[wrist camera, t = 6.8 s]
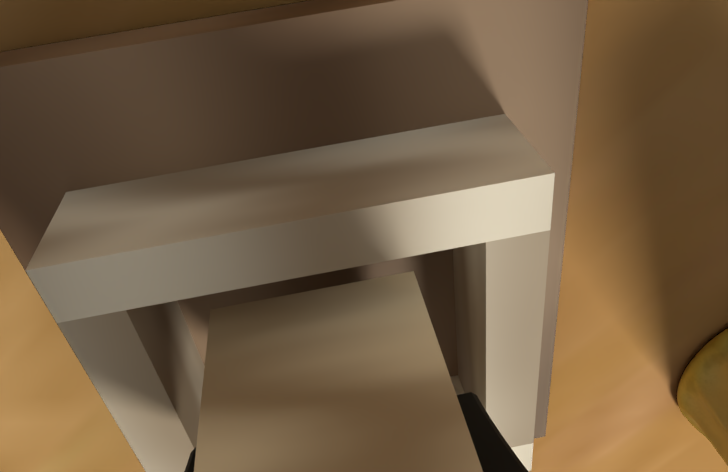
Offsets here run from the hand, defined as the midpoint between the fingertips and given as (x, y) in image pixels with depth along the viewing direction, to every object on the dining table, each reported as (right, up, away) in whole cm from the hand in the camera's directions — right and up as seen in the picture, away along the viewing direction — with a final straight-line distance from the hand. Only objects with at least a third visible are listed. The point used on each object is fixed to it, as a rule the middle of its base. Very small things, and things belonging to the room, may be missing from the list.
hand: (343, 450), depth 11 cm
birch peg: (0, +1, +1) cm, 2 cm away
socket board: (-1, +3, +4) cm, 5 cm away
